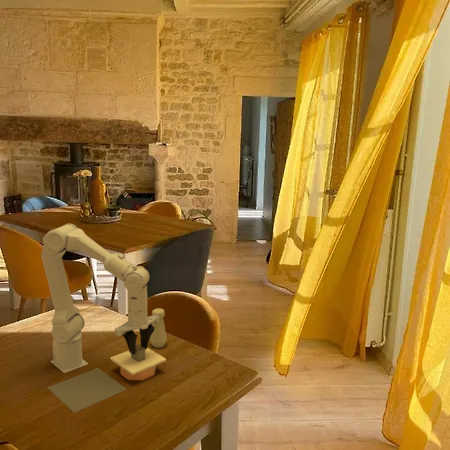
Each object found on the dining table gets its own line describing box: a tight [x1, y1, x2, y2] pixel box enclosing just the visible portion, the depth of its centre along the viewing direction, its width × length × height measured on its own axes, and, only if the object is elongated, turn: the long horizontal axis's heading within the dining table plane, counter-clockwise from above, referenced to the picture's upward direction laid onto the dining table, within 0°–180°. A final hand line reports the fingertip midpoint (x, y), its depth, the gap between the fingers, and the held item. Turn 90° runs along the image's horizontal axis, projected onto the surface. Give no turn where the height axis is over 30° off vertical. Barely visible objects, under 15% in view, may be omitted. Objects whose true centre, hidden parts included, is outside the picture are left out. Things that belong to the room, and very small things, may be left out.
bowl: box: [119, 365, 157, 381], centre depth 138 cm, size 10×10×4 cm
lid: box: [109, 343, 167, 375], centre depth 137 cm, size 12×12×4 cm
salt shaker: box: [149, 307, 168, 349], centre depth 155 cm, size 6×6×13 cm
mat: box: [46, 367, 128, 414], centre depth 129 cm, size 16×16×1 cm
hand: (138, 350), depth 137 cm, fingers open, 4 cm apart
